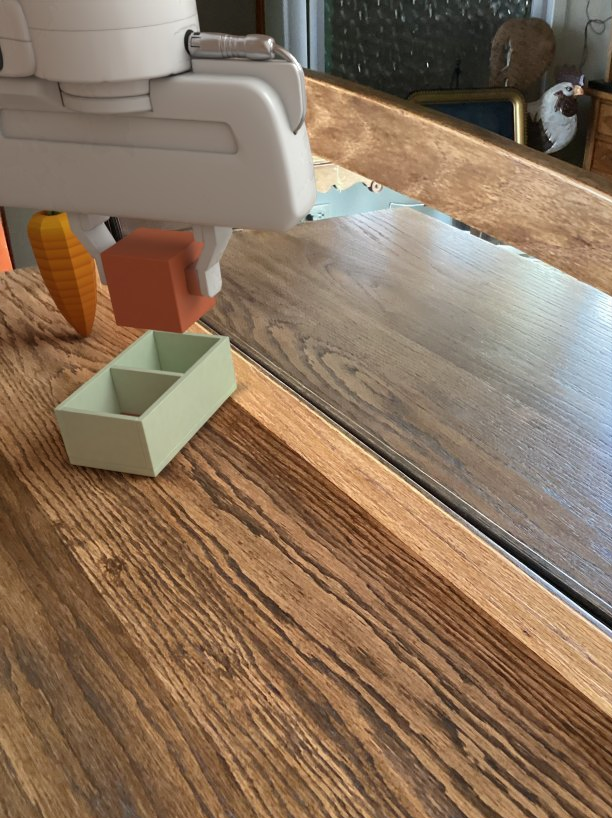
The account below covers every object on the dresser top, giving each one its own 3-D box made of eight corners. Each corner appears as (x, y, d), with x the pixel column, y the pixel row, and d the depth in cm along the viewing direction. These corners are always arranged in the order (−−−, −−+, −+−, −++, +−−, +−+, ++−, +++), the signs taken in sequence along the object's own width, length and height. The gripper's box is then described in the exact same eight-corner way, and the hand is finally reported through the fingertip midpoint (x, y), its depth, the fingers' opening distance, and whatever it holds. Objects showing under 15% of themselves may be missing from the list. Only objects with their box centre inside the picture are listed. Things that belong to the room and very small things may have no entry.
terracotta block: (116, 326, 54) (98, 253, 51) (153, 296, 57) (139, 226, 55) (182, 334, 53) (168, 260, 50) (216, 303, 56) (205, 233, 53)
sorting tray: (70, 464, 65) (53, 409, 62) (161, 378, 75) (150, 327, 72) (155, 477, 63) (141, 421, 60) (237, 388, 73) (229, 336, 70)
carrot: (121, 339, 81) (79, 168, 72) (66, 353, 79) (16, 179, 70) (104, 320, 85) (62, 154, 75) (52, 334, 83) (2, 165, 74)
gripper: (324, 24, 45) (340, 285, 54) (-15, 13, 50) (49, 253, 59) (274, 48, 41) (300, 329, 49) (-94, 33, 46) (-12, 291, 54)
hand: (161, 288), depth 54 cm, fingers closed on terracotta block, 4 cm apart
